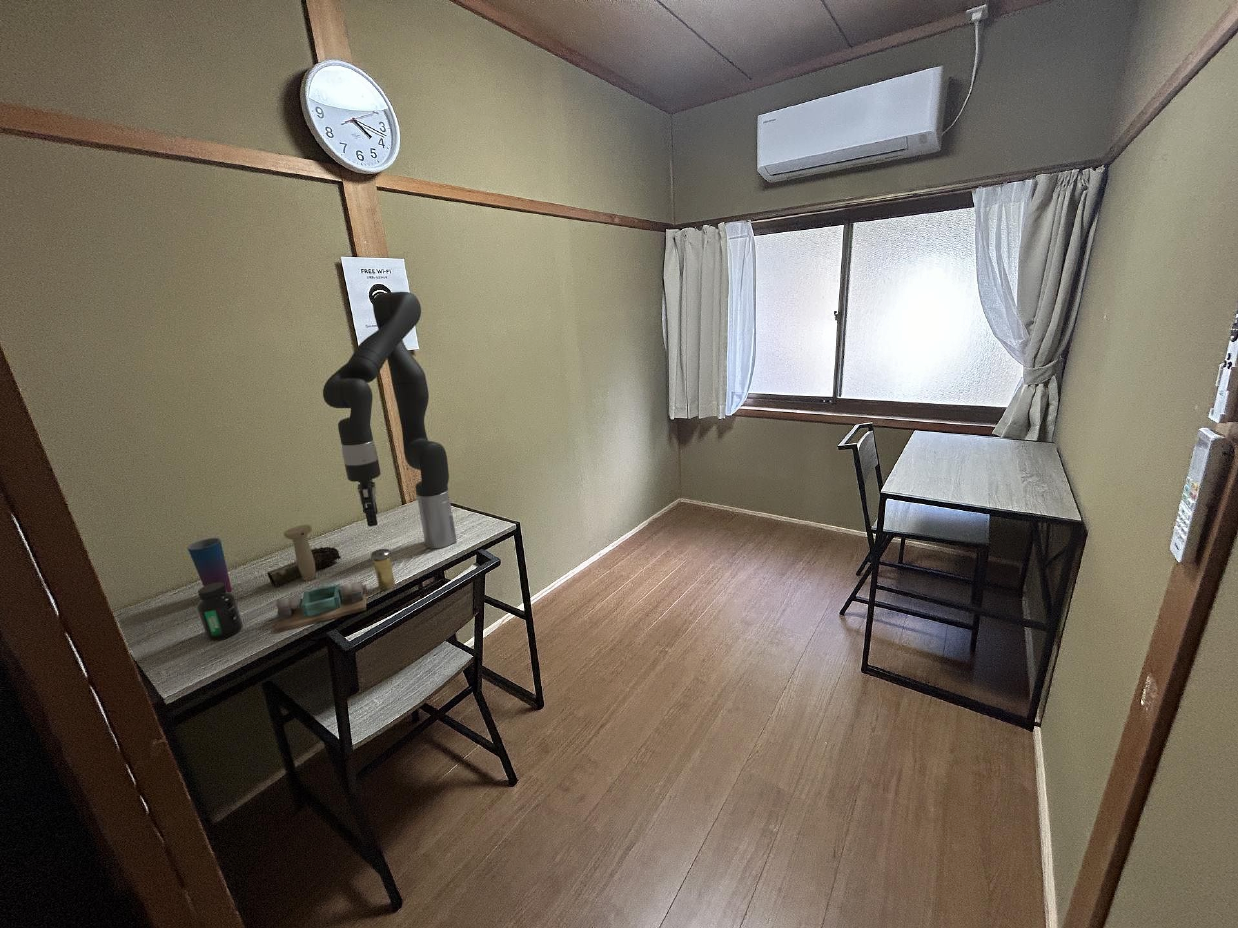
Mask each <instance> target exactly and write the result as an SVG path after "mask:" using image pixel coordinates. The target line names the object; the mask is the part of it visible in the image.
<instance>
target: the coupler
mask: <svg viewBox="0 0 1238 928" xmlns="http://www.w3.org/2000/svg"><path fill="white" fill-rule="evenodd" d="M390 550H391V549H389V548H380V549H376V550H374V551H372V552H371V553H370V558H371V561H373V567H374V570H375V576H376V580H377V585H378V589H379V590H380V591H387V590H388V591H389V590H391V589H393V588H394V587H395V586H396V582H395V577H394V572H393V567H392V561H391V551H390Z"/></svg>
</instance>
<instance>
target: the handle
mask: <svg viewBox="0 0 1238 928" xmlns="http://www.w3.org/2000/svg"><path fill="white" fill-rule="evenodd" d="M312 530H313V529H312V525H311V524H301V525H298V526H297V525H296V526H294V527H292V528H289V529H287V530H285V531H284V532H283V536H284V538H285V539H288V540H291V541H292V544H293V549H294V552H295V558H296V559H295V560H296V562H297V564H298V568H299V570H300V573H301V577H302V580H304V581H306V582H307V581H310V580H311V581H312V580H314V579H315V578H316V577H317V572H316V570H315V562H314V558H313V555H312V552H311V546H310V543H309V539H308V535H309V534H310V533H311V532H312Z"/></svg>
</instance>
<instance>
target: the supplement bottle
mask: <svg viewBox="0 0 1238 928" xmlns="http://www.w3.org/2000/svg"><path fill="white" fill-rule="evenodd" d="M226 591H227V590H226V588H225V585H224V583H221V582H218V583H212V584H209V585H206V586H202V587H200V588H199V589H198V590H197V593H198V598H199V602H198V603H197V606H196V609H197V612H198V616H199V618H200V619H199V620H200V622H201V624H202V627H203V631H204V634H205V636H206V638H207V640H209V641H212V642H213V641H214V642H216V641H217V642H218V641H223V640H225V639H229V638H231V637H233V636H235V635H236V634H238V633H239V632H240V631H241V630H242V629H243V627H244V624H243V620H242V618H241V614H240V610H239V608H238V604H237V601H236V598H235V596H234V594H233V593H232V592H231V593H229V592H226Z"/></svg>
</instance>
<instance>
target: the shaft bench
mask: <svg viewBox="0 0 1238 928" xmlns="http://www.w3.org/2000/svg"><path fill="white" fill-rule="evenodd" d="M367 588H368V587H367V584H366V583H364V584H363V582H362V580H360V581H356V582H352V583H347V584H343V585H341V583H338V584H336V583H335V584H333V583H332V584H330V585H326V586H321V587H316V588H312V589H309V590H307V591H304V593H303V597H302V595H300V594H298V595H294V596H290V597H285V598H281V599H277V601H276V608H277V615H278V619H277V622H276V625H275V627H274V630H275V633H280V632H284V631H288V630H292V629H297V628H300V627H303V626H305V627H306V626H308V625H312V624H316V623H320V622H324V621H328V620H332V619H336V618H341V617H344V616H348V615H353V614H357V613H360V612H363V611H366V610H367V595H368V594H367V592H368V591H367V590H368V589H367Z"/></svg>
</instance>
